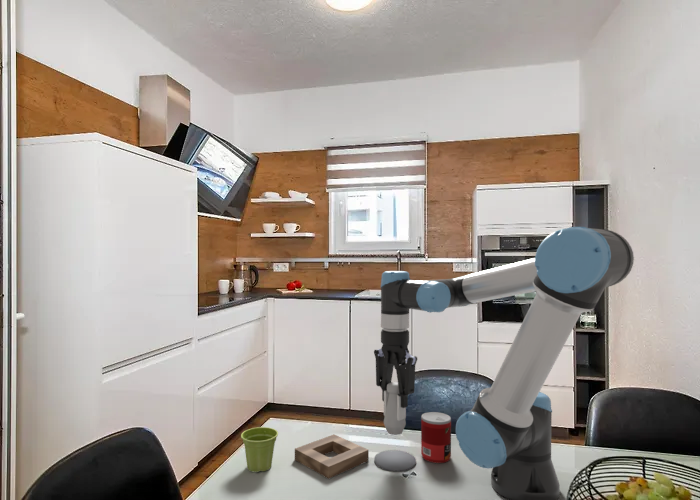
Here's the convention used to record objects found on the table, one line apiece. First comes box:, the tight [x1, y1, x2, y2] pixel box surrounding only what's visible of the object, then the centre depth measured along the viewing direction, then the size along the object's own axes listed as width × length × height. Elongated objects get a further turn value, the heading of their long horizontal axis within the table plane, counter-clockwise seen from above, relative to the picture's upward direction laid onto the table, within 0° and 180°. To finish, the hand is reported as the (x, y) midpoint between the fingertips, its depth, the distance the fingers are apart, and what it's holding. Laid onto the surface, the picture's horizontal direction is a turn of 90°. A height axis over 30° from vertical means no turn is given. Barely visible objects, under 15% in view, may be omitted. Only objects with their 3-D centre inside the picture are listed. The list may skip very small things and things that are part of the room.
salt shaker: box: [383, 381, 407, 436], centre depth 122 cm, size 6×6×13 cm
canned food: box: [420, 411, 452, 464], centre depth 124 cm, size 8×8×11 cm
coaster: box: [373, 449, 417, 472], centre depth 122 cm, size 11×11×1 cm
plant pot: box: [240, 426, 279, 473], centre depth 118 cm, size 9×9×9 cm
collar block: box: [294, 434, 370, 480], centre depth 122 cm, size 14×14×3 cm
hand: (394, 416), depth 122 cm, fingers closed on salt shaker, 4 cm apart
